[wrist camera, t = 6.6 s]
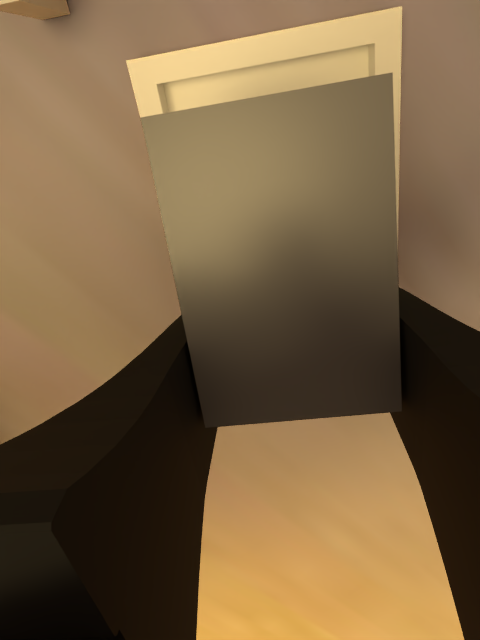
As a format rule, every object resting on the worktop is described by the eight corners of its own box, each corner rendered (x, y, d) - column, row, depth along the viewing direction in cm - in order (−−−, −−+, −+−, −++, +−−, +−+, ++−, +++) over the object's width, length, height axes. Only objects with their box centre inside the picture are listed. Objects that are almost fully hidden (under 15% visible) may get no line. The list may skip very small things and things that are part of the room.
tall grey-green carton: (357, 321, 13) (402, 411, 9) (229, 335, 14) (205, 428, 9) (344, 106, 11) (392, 72, 7) (194, 132, 12) (140, 118, 7)
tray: (387, 298, 19) (396, 314, 18) (200, 319, 20) (195, 337, 19) (389, 12, 14) (402, 6, 13) (138, 61, 15) (126, 60, 14)
